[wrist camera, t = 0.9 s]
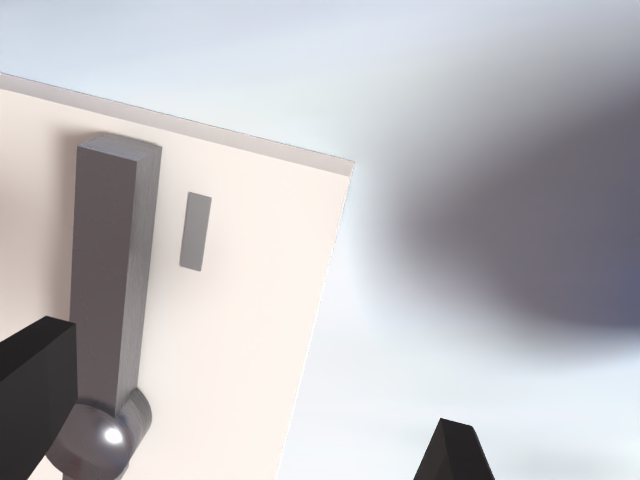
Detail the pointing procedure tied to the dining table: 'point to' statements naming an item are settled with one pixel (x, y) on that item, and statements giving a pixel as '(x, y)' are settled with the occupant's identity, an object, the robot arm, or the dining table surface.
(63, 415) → the robot arm
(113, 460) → the latch handle
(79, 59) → the dining table surface
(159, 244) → the cover plate
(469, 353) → the dining table surface
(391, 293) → the dining table surface
